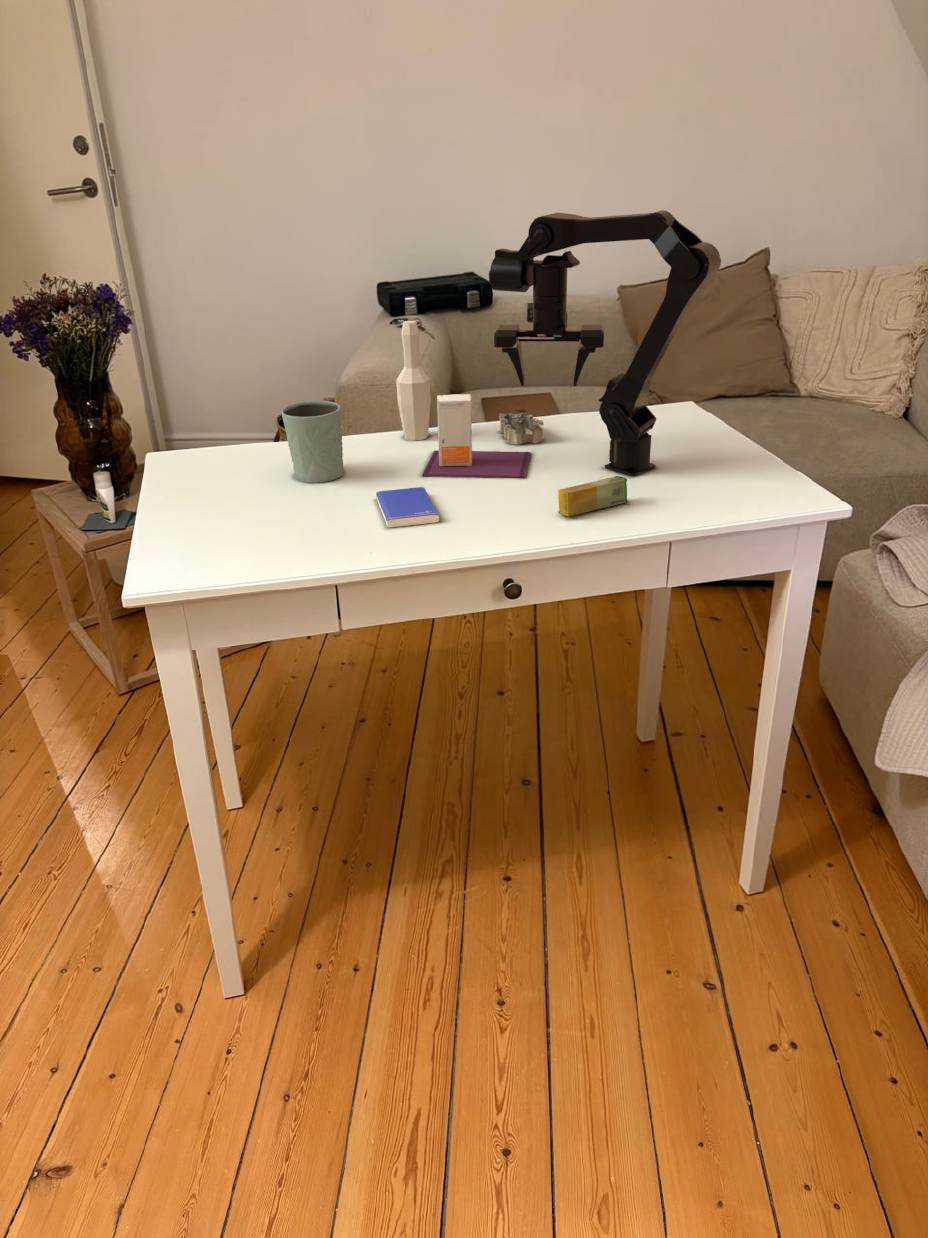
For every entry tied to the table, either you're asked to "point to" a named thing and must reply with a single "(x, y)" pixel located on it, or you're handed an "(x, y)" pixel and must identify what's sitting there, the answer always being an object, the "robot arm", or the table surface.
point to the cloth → (483, 465)
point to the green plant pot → (315, 440)
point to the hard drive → (407, 507)
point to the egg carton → (521, 428)
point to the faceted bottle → (413, 387)
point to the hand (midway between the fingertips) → (548, 385)
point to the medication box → (592, 496)
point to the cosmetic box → (454, 430)
